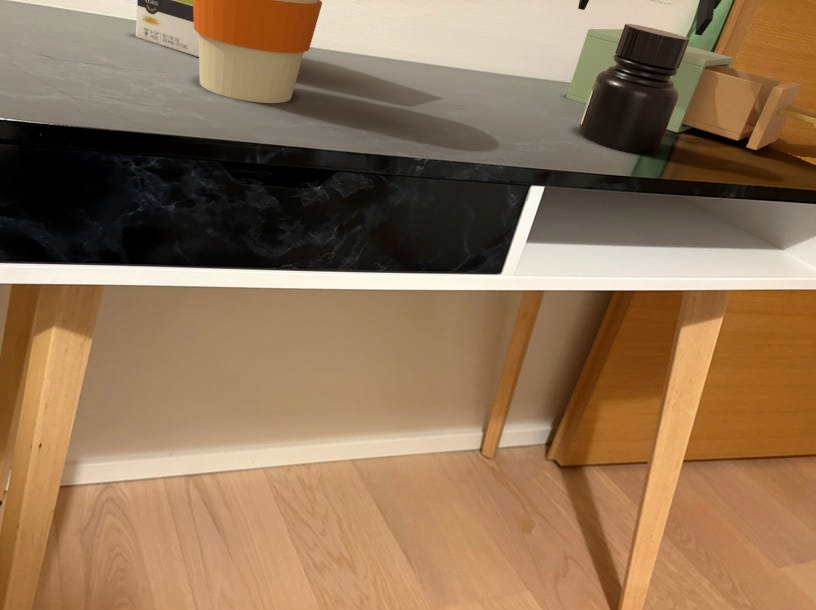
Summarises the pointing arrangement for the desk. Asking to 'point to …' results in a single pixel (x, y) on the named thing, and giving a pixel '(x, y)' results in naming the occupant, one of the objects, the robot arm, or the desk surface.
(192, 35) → the tea box
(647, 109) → the ink bottle
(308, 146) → the desk surface
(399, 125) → the desk surface
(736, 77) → the drawer
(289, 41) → the reusable coffee cup
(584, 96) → the cabinet
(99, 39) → the desk surface
